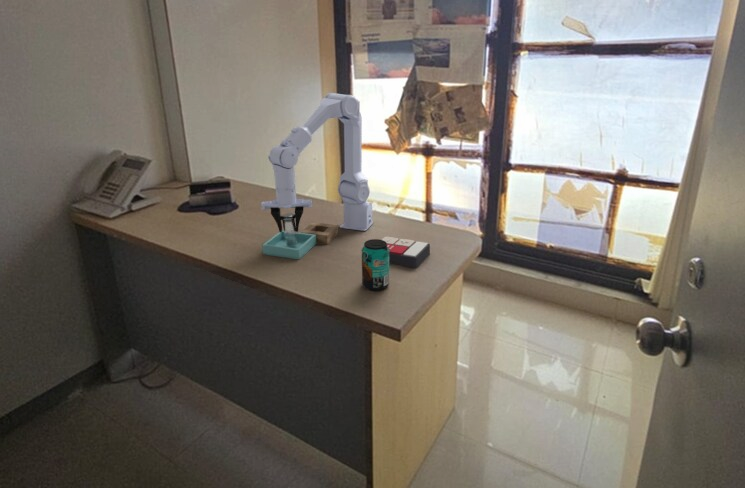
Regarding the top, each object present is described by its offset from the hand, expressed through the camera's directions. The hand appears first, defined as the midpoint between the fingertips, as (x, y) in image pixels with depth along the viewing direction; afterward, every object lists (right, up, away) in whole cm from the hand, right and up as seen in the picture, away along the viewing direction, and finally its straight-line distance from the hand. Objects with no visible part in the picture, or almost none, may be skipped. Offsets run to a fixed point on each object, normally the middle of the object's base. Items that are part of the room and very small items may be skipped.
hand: (289, 230), depth 146 cm
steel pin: (0, -4, +2) cm, 4 cm away
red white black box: (+33, -8, -2) cm, 34 cm away
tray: (0, -5, +2) cm, 6 cm away
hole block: (+8, -2, +10) cm, 13 cm away
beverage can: (+26, -15, -19) cm, 35 cm away
